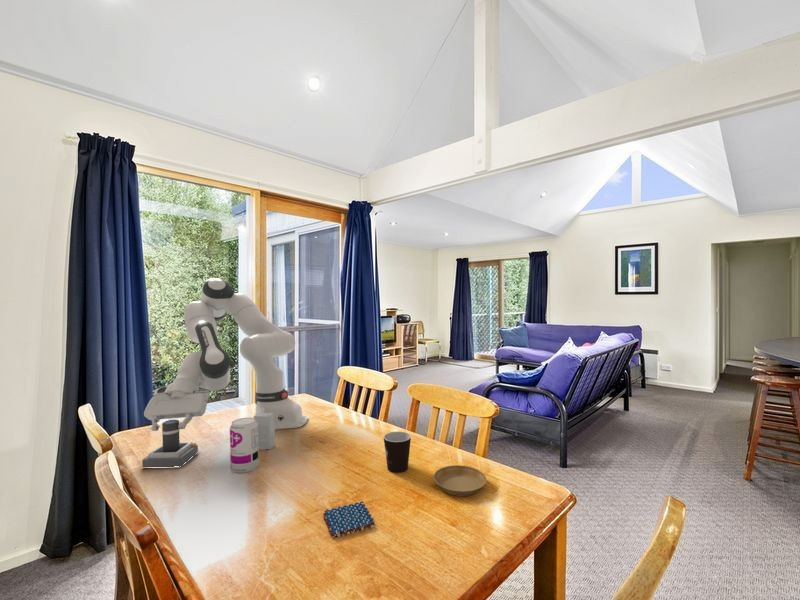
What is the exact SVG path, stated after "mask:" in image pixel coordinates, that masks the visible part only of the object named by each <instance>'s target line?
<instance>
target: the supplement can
mask: <svg viewBox="0 0 800 600" xmlns="http://www.w3.org/2000/svg"><path fill="white" fill-rule="evenodd" d="M229 453H230V454H229V455H230V470H231V471H232V472H233V471H234V472H233V473H235V472H238V473H237V474H244V473H243V472H246V473H249V472H252V471H254V470H255V469H257V467H258V466H259V464H260V463H259V462H260V460H259V459H260V458H259V457H260V456H259V455H260V454H259V449H258V424H257V422H256V419H255V418H254V417H241V418H237V419H234V420H233V421H231V425H230V427H229ZM253 469H254V470H253ZM251 470H252V471H251ZM248 471H249V472H248Z"/></svg>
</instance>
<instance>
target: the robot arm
mask: <svg viewBox="0 0 800 600" xmlns="http://www.w3.org/2000/svg"><path fill="white" fill-rule="evenodd" d="M201 291H202V292H201V296H200V300H194V301H191V302H189V303H188V304H186V306H185V307H184V310H183V311H184V312H183V315H184V326H185V329H186V332H187V334H188V335H187V336H188V337H189V338H190V340H191V342H193V343H195V344H199V347H200V351H192V352H190V353H188V354H186V356H185V357H184V358H183V360H182V361H181V364H180V365H179V367H178V369H177V372H176V377H175V378H174V379H173V381H172V383H170V384H167V385H165V386H161V387H159V388H157V389H155V390H154V393H153V394H154V396H152V398H150V400H149V401H148V403H147V405H146V407H145V409H144V411H143V415H144V417H145V418H146V419H147V420H149V421H151V424H152V425H151V428H150V431H152V432H158V431H159V428H160V425H159V424H158V423H159V422H160V420H172V419H181V418H184V419H183V420H182V421H179V426H178V428H180V430H185V429H186V427H187V425H188V424H189V423H190V422H191V421H192V420H193V418H196V417H202V416H203V415H205V413H206V409H207V405H208V400H209V398H210V392H209V391H211V392H219V391H222V390H224V389H225V388H227V387H228V385H229V384H230V382H231V362H232V361H231V357H230V355H229V353H227V351H225V350H224V348H222V347H221V345H220V342H219V338H218V337H217V336H218V326H217V322H220V321H222V320H223V319H224V318H225V317H226V315H227V313H228V314H229V315H231V316H232V318H233V320H234V321H235V322H236V324H237V325H238V327H239V328H240V330H241V331H242V333H243V334H245V335H246V337H244V338H242V340H241V342H240V344H239V351H240V355H241V356H242V358H243V359H244V360H246V361H247V362H249V364H250V365H251V366H252V369H253V371H254V374H255V375H254V376H255V387H256V388H255V389H256V391H255V392H254V403H255V413H254V416H255V415H257V414H258V413H274V428H275V431H276V430H285V429H296V428H300V427H302V426H304V425H305V424H306V423H307V422H308V415H307V414H303V411H302V407H301V405H300V404H299V403H297V402H296V401H294V400H293V399H292V398H290V397H289V391H290V390H289V389H287V390H286V389H285V388H284V372H283V370H282V369H281V368H280V367H278V366H276V365H275V360H274V358H279V357H282V356H285V355H288V354H290V353H292V352H293V351H294V350H295V348H296V339H295V337H294V335H293V334H292V333H291V332H289V331H285V330H284V329H282V328H279V327H278V326H277V325H275V324H274V323H272V322H271V321H270V320H269V319H268V318H267V317H266V316H265V315H264V314H263V312H262V311H261V310H260V308H259V307H258V305H256V303H255V302H254V301H253V300H252V299H251V298H250V297H249V296H248V295H247V294H245V293H242V292H241V293H239V292H237V293H235V288H234V287H233V286H231V285H230V284H229V282H227V281H226V280H224V279H222V278H220V277H212V278H208V279H206V281H205V282H204V284H203V286H202V290H201ZM199 389H202V390H199Z"/></svg>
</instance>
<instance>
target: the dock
mask: <svg viewBox="0 0 800 600" xmlns="http://www.w3.org/2000/svg"><path fill="white" fill-rule="evenodd" d="M197 452H198V453H199V445H198V444H197V442H193V441H180V450H178V451H177V452H164V453H163V444H161V445H159V446H158V447H157V448H155V449H154V450H152V451H150V452H149V453H148V454H147V456H145V457H144V458H143V459H142V460H141V461H142V462H141V463H142V464H141V465H142V467H174V466H179V467H180V466H182V465H183V464H184V463H185V462H187V461H188V460H189V459H190V458H191V457H192V456H194V455H195V454H196V453H197ZM195 456H196V455H195ZM195 456H194V457H195ZM189 461H190V460H189ZM189 461H188V462H189ZM188 462H187V463H188ZM183 466H184V465H183ZM183 466H182V467H183Z"/></svg>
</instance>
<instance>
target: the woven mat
mask: <svg viewBox="0 0 800 600" xmlns="http://www.w3.org/2000/svg"><path fill="white" fill-rule="evenodd" d="M322 515H323V520H324V522H325V524H326V526H327V529H328V532H329V535H330V537H333V538H334V537H335V538H336V537H337V536H338V537H337V538H341V536H342V537H343V538H344V537H346V536H347V535H348V536H349V535H350V534H354V533H355V531H356V532H357V533H359V532H360V531H361V532H363V531H364V530H366V531H369V528H370V529H374V525H375V521H374V518H373V517H372V514H371V513H370V511H369V510H368V507H366V503H365V504H364V500H362V501H358V502H357V501H355V503H349V504H344V505H343V506H340V505H339V506H337V507H336V508H334V507H332V508H330V509H325V510H324V512H323V513H322ZM333 538H332V539H333Z"/></svg>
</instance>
